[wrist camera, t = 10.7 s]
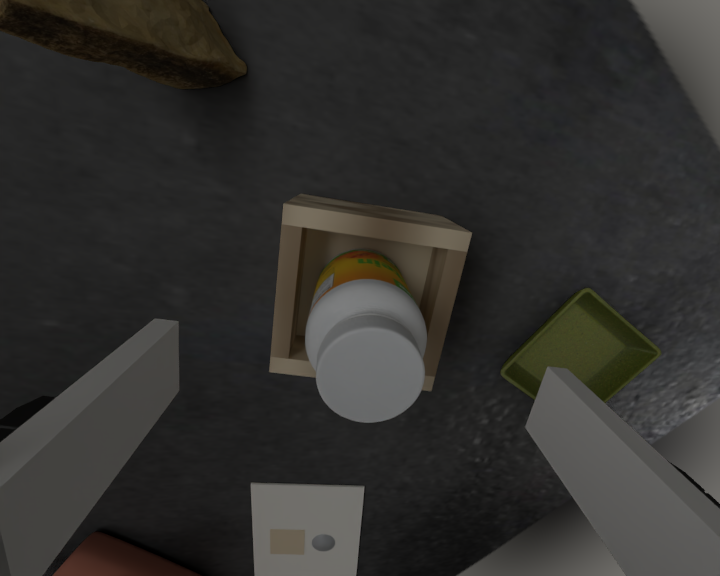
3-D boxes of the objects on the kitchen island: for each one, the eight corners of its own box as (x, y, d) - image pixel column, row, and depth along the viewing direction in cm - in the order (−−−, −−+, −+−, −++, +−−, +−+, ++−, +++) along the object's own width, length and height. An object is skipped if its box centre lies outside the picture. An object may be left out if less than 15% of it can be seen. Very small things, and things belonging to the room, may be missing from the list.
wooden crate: (288, 324, 26) (269, 371, 20) (301, 193, 23) (283, 203, 17) (412, 340, 27) (431, 391, 21) (441, 215, 24) (472, 232, 18)
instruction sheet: (255, 589, 36) (255, 591, 36) (251, 482, 31) (250, 484, 31) (354, 590, 36) (354, 593, 36) (364, 485, 32) (364, 487, 32)
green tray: (560, 413, 30) (575, 430, 28) (487, 359, 28) (497, 374, 26) (642, 340, 28) (664, 353, 26) (569, 276, 26) (587, 285, 24)
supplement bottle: (420, 274, 22) (475, 353, 13) (374, 343, 23) (393, 459, 14) (344, 229, 21) (344, 280, 12) (300, 304, 22) (269, 402, 13)
